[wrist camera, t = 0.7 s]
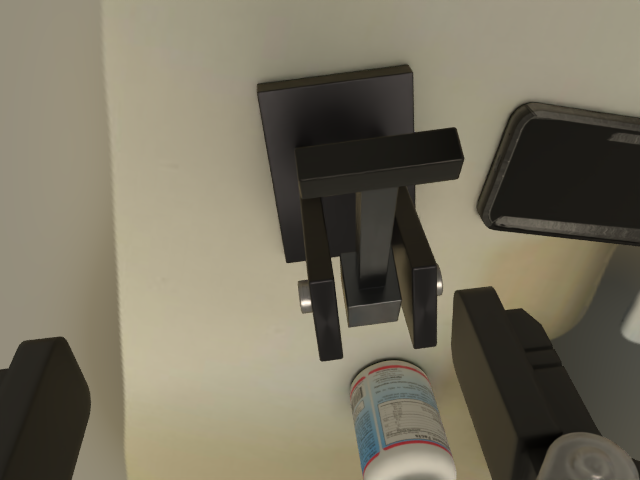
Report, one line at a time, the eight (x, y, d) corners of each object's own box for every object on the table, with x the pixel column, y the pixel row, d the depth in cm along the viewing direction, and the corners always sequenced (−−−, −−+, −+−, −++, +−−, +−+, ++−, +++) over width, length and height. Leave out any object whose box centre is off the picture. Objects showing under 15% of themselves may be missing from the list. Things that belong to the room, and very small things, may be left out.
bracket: (257, 83, 32) (254, 215, 21) (408, 64, 32) (480, 185, 21) (285, 252, 38) (295, 417, 28) (412, 235, 38) (469, 394, 28)
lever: (291, 127, 17) (300, 202, 16) (451, 106, 17) (471, 180, 16) (315, 280, 28) (322, 331, 27) (413, 267, 28) (423, 318, 27)
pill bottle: (384, 422, 48) (413, 564, 39) (332, 387, 46) (350, 531, 36) (445, 382, 46) (490, 522, 37) (394, 343, 44) (429, 485, 34)
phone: (695, 252, 39) (477, 228, 37) (685, 242, 40) (471, 218, 38) (767, 141, 35) (524, 106, 32) (754, 133, 36) (517, 98, 33)
